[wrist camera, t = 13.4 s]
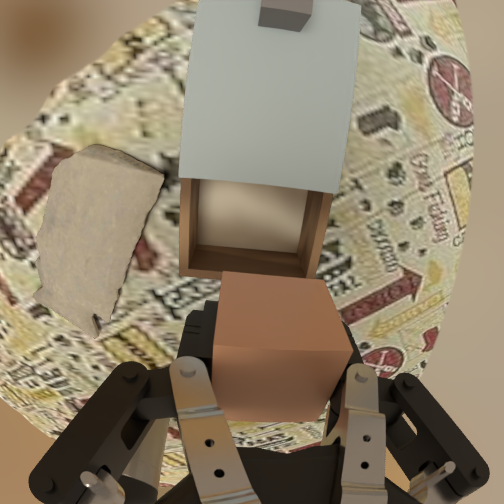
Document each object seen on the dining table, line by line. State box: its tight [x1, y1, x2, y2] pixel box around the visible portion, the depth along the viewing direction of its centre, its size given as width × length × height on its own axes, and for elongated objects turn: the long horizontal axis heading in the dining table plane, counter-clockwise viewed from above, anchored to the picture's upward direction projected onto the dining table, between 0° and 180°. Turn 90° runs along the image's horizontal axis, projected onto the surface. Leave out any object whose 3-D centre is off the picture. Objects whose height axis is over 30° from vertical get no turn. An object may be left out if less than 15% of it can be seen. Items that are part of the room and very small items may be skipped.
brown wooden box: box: [179, 178, 333, 280], centre depth 25 cm, size 16×12×6 cm
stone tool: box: [33, 145, 164, 339], centre depth 29 cm, size 13×4×25 cm
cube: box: [212, 271, 353, 422], centre depth 12 cm, size 4×4×4 cm
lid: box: [179, 0, 361, 194], centre depth 16 cm, size 16×12×5 cm
